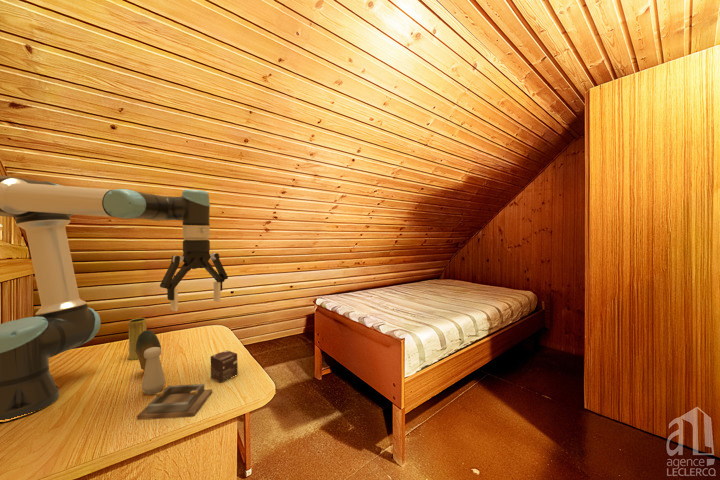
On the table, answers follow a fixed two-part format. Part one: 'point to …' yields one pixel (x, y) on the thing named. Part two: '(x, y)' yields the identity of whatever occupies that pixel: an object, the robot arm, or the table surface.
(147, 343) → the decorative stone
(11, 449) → the table surface
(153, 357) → the salt shaker
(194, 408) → the base
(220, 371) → the box
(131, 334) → the vase
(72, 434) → the table surface
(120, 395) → the table surface
